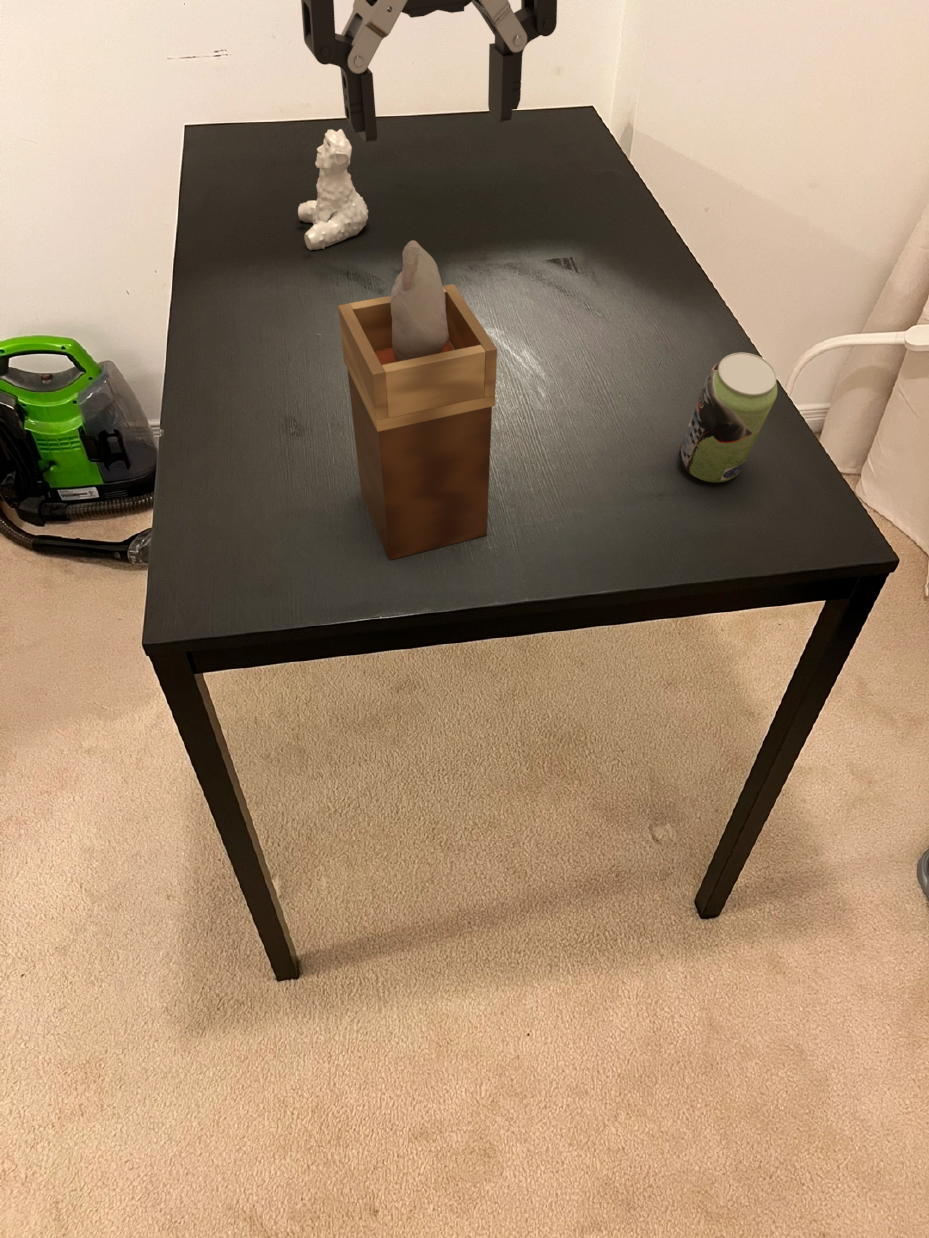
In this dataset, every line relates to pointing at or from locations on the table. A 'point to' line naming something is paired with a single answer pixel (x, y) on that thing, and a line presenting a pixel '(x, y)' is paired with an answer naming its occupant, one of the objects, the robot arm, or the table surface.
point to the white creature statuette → (333, 196)
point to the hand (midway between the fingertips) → (434, 127)
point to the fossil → (418, 307)
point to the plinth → (424, 478)
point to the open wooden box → (417, 365)
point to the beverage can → (728, 417)
